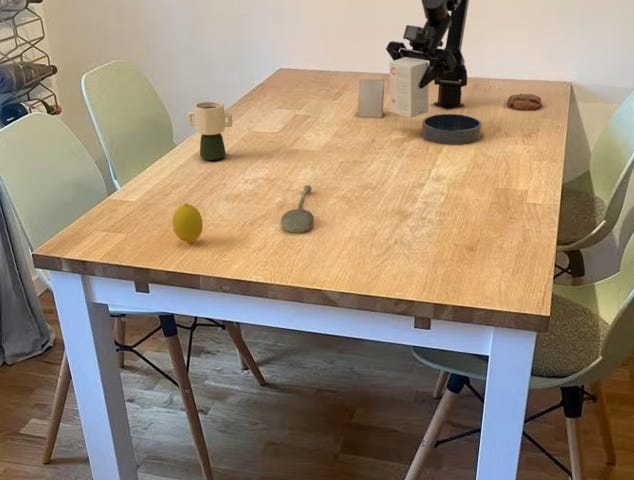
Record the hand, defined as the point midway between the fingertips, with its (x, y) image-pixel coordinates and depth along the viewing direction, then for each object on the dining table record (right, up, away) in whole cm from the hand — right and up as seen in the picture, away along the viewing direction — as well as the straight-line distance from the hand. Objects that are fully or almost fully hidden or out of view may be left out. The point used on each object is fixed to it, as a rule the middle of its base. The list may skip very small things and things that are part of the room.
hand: (405, 84), depth 196 cm
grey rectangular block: (-7, -1, +24) cm, 25 cm away
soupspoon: (-26, -38, -36) cm, 59 cm away
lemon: (-47, -46, -49) cm, 82 cm away
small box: (+1, -6, +5) cm, 8 cm away
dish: (+13, -11, +7) cm, 18 cm away
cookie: (+38, +3, +31) cm, 49 cm away
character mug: (-48, -21, -7) cm, 53 cm away
